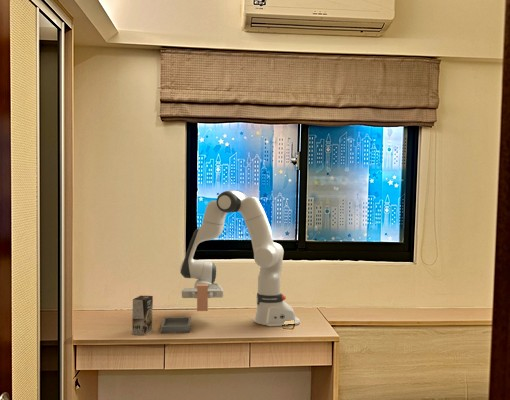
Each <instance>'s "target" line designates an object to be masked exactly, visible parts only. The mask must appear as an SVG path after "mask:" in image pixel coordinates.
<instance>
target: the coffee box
mask: <svg viewBox="0 0 510 400" xmlns="http://www.w3.org/2000/svg"><path fill="white" fill-rule="evenodd" d="M153 299H154V296H153V295H139V296H136V297H135V298H133V299H132V321H131V322H132V331H131V334H132V335H137V336H139V335H140V336H146V335H147V334H148V333H150V332H152V331H153V328H154V327H153V324H154V323H153V322H154V321H153V319H154V318H153V316H154V315H153V314H154V313H153V305H154V304H153V301H154V300H153Z"/></svg>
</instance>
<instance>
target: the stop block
mask: <svg viewBox="0 0 510 400" xmlns="http://www.w3.org/2000/svg"><path fill="white" fill-rule="evenodd" d="M208 307H209V298H208V284H197V298H196V311H197V312H208V310H209V308H208Z"/></svg>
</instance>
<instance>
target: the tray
mask: <svg viewBox="0 0 510 400" xmlns="http://www.w3.org/2000/svg"><path fill="white" fill-rule="evenodd" d="M191 318H192V317H190V316H176V317H175V316H173V317H171V316H169V317H167V316H165V317H163V319H162V323H161V325H160V334H185V333H187V334H188V333H189V334H190V333H191V332H190V331H191V324H192V322H191Z"/></svg>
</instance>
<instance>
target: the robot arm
mask: <svg viewBox="0 0 510 400" xmlns="http://www.w3.org/2000/svg"><path fill="white" fill-rule="evenodd" d="M229 213H239V214H241V216H242V218H243V220H244V223H245V226H246V228H247V229H246V230H247V231H248V233H249V237H250V240H251V245H252V250H253V259H254V262H255V264H256V265H257V266H259V273H258V277H257V293H256V312H255V317H254V320H253V322H254V323H255V324H258V325H262V326H267V327H281V326H282V325H283V324H284V322H285V321H289V320H294V321H295V322H294V324H295V325H294V326H296V325H299V324H300V321H301V320H300V319H299V318H298V317H297V316H296V313H295V310H294V308H293V307H292V306H291V305H290V304H289V303H287V302H286V301H285V300H286V298H287V297H286V296H285V294H283V293H281V275H282V267H283V259H284V254H285V251H284V248H283V246H282V244H280V243H277V242H274V238H273V234H272V227H271V225H270V223H269V219H268V217H267V214H266V212H265V209H264V208H263V206H262V204H261V202H260V200H259V199H258V198H257V197H255V196H247V195H246V194H245V193H244V192H243V191H241V190H233V189H232V190H231V189H230V190H226V191H223V192H221V193H219V195H218V196H217V199H216V200H210V201H209V202H208V203H207V205H206V207H205V211H204V214H203V220H202V223H201V225H200V226H199V228H196V229H195V230H194V232H193V234H192V236H191V239H190V242H189V245H188V248H187V251H186V253H185V257H184V259H183V261H182V262H181V265H180V269H179V273H180V275H181V276H182V277H183V278H185V279H196V281H195V283H194V285H193V287H186V288H183V289H181V298H182V299H197V284H208V299H212V298H215V299H216V298H224V288H223V286H221V285H220V284H219V283H215V281H216V277H217V267H216V265H215V263H214V262H212V261H206V260H198V259H194V256H195V252H196V250H197V247H198V246H199V244H200V243H203V242H205V241H211V240H214V239H217V238H218V237H219V236H221V235H222V234H223V231H224V227H225V222H226V217H227V215H228V214H229Z"/></svg>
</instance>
